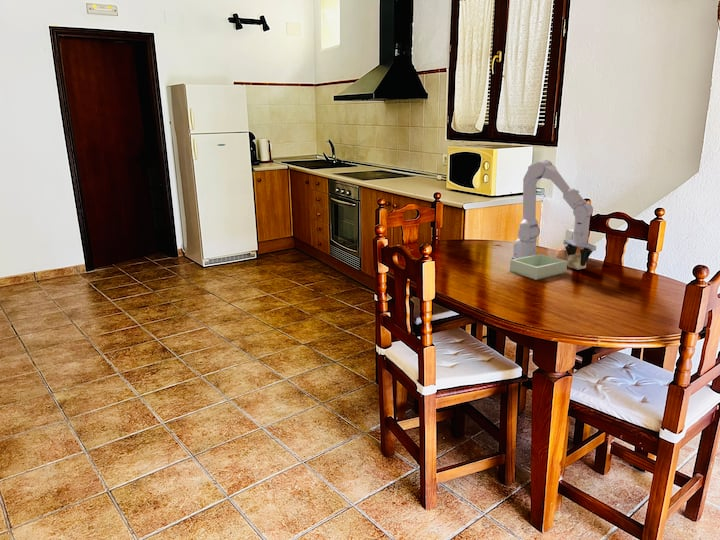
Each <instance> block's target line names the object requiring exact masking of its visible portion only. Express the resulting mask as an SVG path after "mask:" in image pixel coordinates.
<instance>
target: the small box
mask: <svg viewBox="0 0 720 540" xmlns="http://www.w3.org/2000/svg"><path fill="white" fill-rule="evenodd" d="M573 232H574V228H568V229H567V228H566V229H565V237H564V240H565V239H569V240H573ZM589 239H590V230H589V231H588V239H587V243H589V241H590V240H589ZM563 245H564V246H563V248H565V247H566V246H567V244H563ZM582 249H584V248H580V247H577V250H576V253H575V254H580V255H581V253H580V250H582ZM568 260H569V256H568Z"/></svg>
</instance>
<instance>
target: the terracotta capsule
mask: <svg viewBox="0 0 720 540" xmlns="http://www.w3.org/2000/svg"><path fill="white" fill-rule="evenodd" d="M555 258H558V259H561V260H565V261H567V265H568V262H569V259H568V253H567V250H566V248H564V247H557V248H556V251H555Z"/></svg>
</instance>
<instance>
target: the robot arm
mask: <svg viewBox="0 0 720 540" xmlns="http://www.w3.org/2000/svg"><path fill="white" fill-rule="evenodd" d="M541 179H546V180H549V181H551V182H552V183H553V184H554V185H555V187H557V188H558V189H559V190H560V192H561V193H562V199H563V200H564V201H565V202H566V204H567V205H568V206H569V207H570V209H572V210H573V211H572V212H573V216H574V224H573V229H574V232H573V240H569V239H565V238H564V239H563V243H562V244H563V245H564V244H567V246H566V247H565V248H566V250H567V253H568V256H569V255H573V254H575V253H576V250H577V247H580V248H584V249H582V250H580V253H581V266H585V264H586V265H587V261H588V259H589V258H590V256H591V255H592V253H593V252H594V251H597V245H594V244H592V243H589V242H588V243H587V239H588V231H589V232H590V230H589V229H590V220H591V215H592V214H593V211H594V207H593V205H592V203H590V202H588V201H587V200H586V199H584V198H583V196H581V194H580V191H579V190H578V189H576V188H571V187H570V186H569V185H568V183H567V182H566V181H565V179H564V177H562V175H561V174H560V172H559V171H558V169H557V167H556V166H555V165H554V164H553V162H551V161H550V160H548V159H545V160H541V161H534V162H532V163H530V165H529V166H528V167H527V171H526V173H525V175H524V176H523V179H522V180H523V181H522V184H523V185H522V186H523V187H522V190H523V191H522V220H521V222H520V224H519V228H518V230H517V237H518V238H517V239H516V240H515V241H514V242H513V250H512V251H513V252H512V253H513V254H512V256H511V259H517V258H522V257H527V256H532V255H537V254H536V252H537V242H538V241H537V240H538V239H537V238H538V237H539V236H540V234H541V229H540V227H539V221H538V219H537V212H536V211H537V183H538V182H539V181H540V180H541Z"/></svg>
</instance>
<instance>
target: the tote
mask: <svg viewBox="0 0 720 540" xmlns="http://www.w3.org/2000/svg"><path fill="white" fill-rule="evenodd" d="M509 264H510V265H509V272H511V273H513V274H517V275H519V276H523V277H526V278H528V279H532V280H535V281H538V280H542V279H545V278H550V277H555V276H557V275H558V276H559V275H563V274H567V268H568V264H567V261H565V260H561V259H558V258H556V257H555V256H554V257H553V256H550V255H546V254H543V253H537V254H535V255H532V256H527V257H522V258H517V259H514V258H512V259H510V262H509Z"/></svg>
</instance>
